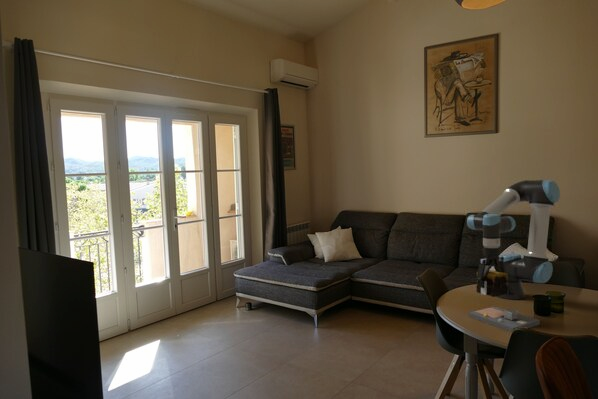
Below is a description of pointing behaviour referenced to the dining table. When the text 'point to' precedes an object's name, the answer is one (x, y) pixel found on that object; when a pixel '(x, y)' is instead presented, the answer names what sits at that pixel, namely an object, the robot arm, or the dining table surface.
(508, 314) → the breaker slider
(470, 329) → the dining table surface
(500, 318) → the breaker panel
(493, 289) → the brown and yellow box
